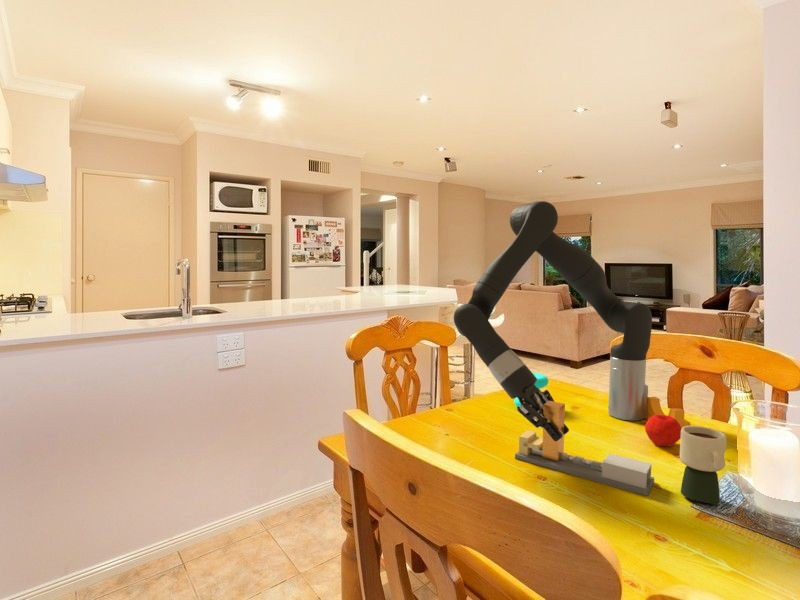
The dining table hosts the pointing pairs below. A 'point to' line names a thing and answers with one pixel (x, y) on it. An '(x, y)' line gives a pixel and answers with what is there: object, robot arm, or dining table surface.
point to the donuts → (540, 383)
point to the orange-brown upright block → (556, 448)
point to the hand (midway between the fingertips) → (562, 435)
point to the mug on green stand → (702, 462)
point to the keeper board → (613, 470)
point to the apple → (663, 430)
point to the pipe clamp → (655, 409)
